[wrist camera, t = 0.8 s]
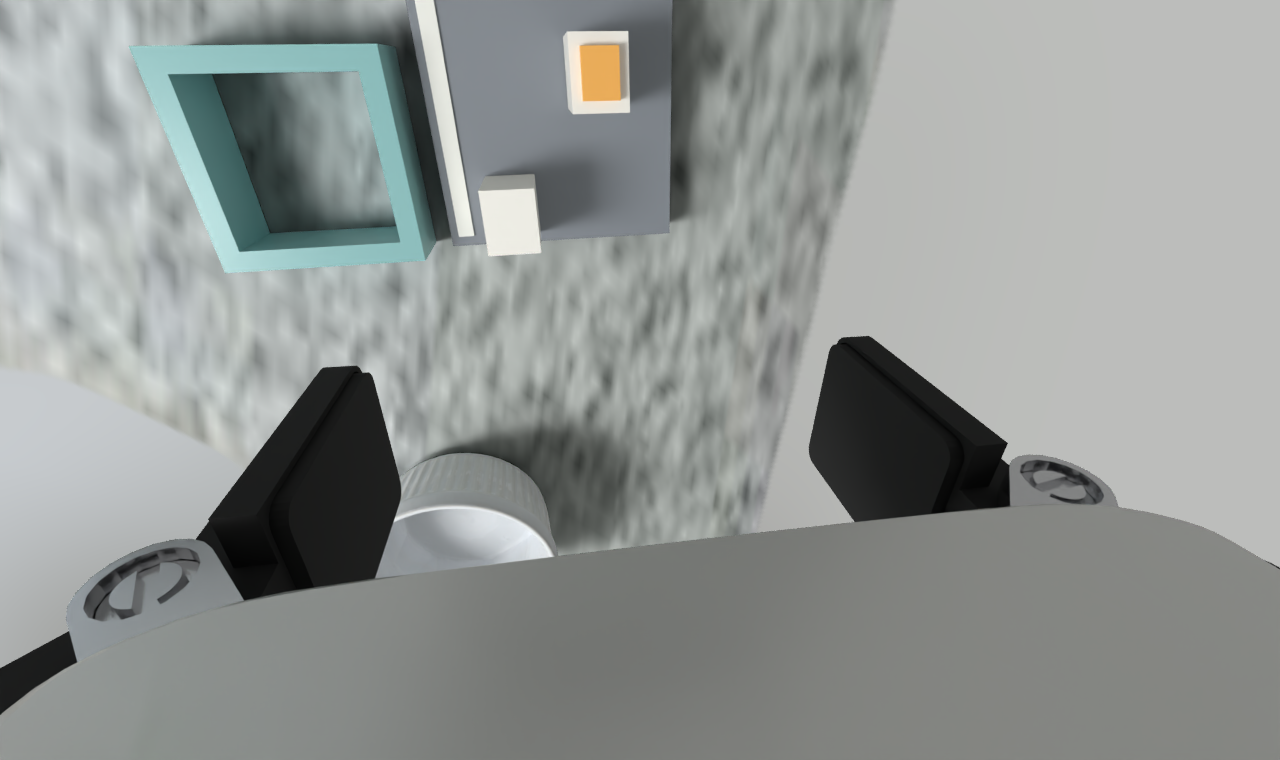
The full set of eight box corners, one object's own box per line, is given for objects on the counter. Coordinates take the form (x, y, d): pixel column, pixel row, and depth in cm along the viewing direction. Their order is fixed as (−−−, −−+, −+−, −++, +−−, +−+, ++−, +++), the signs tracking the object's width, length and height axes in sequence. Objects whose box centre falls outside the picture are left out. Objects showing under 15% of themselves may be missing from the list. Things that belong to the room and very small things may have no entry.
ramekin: (354, 547, 41) (323, 628, 35) (402, 413, 36) (375, 481, 30) (519, 578, 45) (517, 654, 40) (582, 464, 40) (590, 532, 34)
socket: (178, 49, 24) (128, 46, 21) (395, 46, 26) (376, 43, 23) (257, 252, 29) (225, 273, 26) (436, 242, 30) (425, 260, 27)
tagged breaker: (562, 36, 25) (567, 30, 21) (615, 36, 25) (629, 30, 21) (568, 108, 26) (573, 115, 23) (617, 107, 27) (631, 113, 23)
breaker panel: (386, -142, 22) (342, -206, 17) (664, -132, 24) (699, -187, 19) (457, 236, 30) (442, 269, 25) (662, 224, 32) (686, 253, 27)
